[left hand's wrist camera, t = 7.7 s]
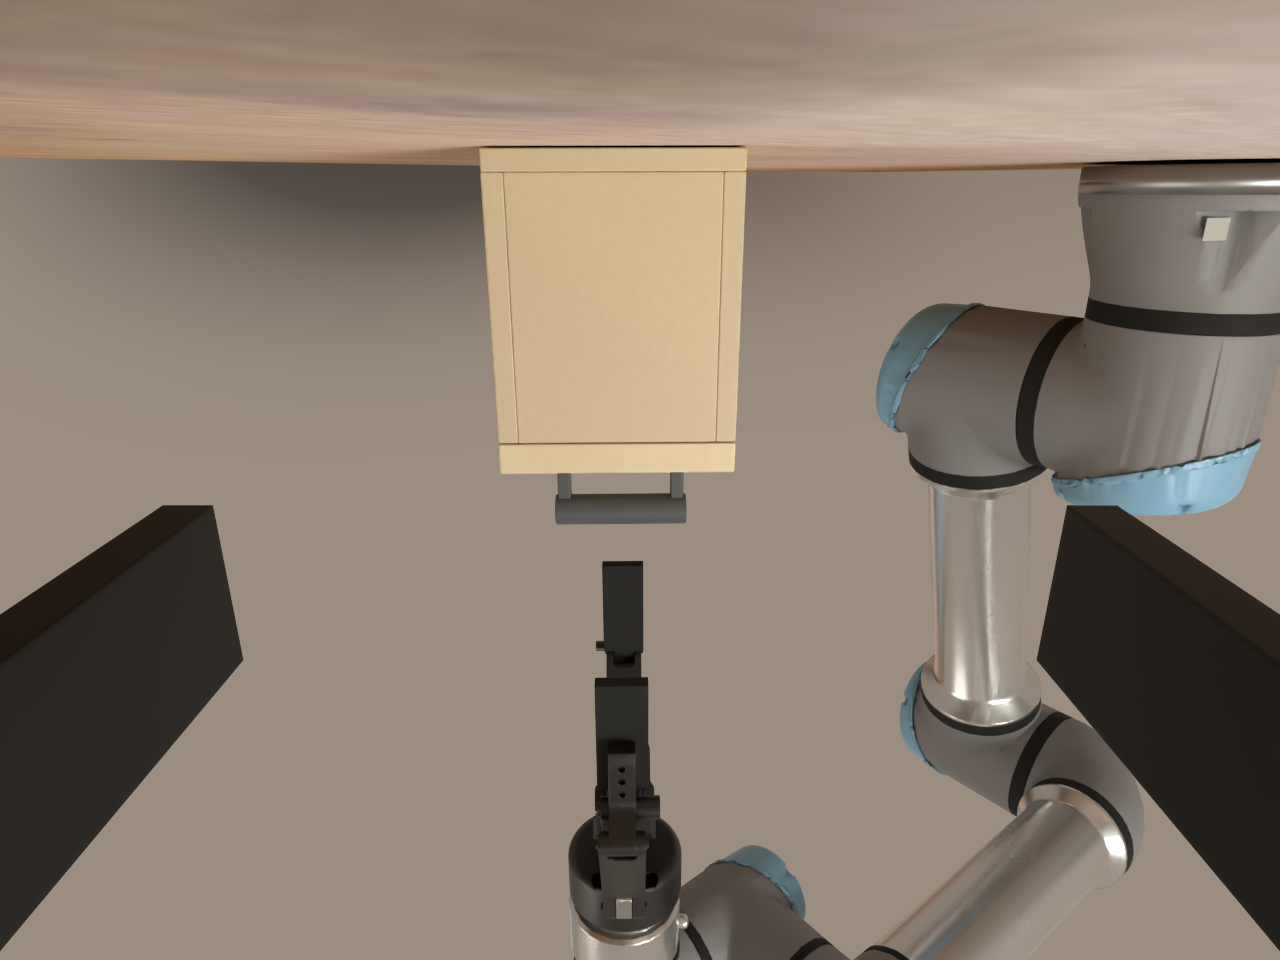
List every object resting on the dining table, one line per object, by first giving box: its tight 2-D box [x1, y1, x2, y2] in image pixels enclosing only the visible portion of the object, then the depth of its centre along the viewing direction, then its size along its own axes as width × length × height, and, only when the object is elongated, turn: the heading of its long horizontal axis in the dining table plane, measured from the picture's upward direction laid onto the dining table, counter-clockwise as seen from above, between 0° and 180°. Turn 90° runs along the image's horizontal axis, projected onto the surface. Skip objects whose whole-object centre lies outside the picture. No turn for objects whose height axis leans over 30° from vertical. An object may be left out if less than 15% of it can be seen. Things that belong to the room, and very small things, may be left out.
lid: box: [499, 440, 735, 524], centre depth 40 cm, size 14×9×8 cm
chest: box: [479, 147, 747, 443], centre depth 36 cm, size 13×9×11 cm
